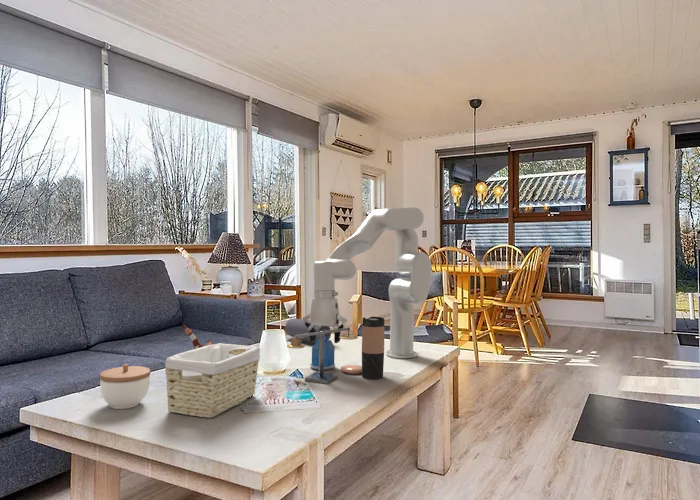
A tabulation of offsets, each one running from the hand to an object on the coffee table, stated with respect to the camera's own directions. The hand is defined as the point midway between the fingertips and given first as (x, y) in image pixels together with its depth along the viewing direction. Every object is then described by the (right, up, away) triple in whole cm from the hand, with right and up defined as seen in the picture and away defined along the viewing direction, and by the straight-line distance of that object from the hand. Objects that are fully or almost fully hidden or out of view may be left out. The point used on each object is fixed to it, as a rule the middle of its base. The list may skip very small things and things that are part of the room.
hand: (324, 341), depth 178 cm
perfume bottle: (-1, -9, 0) cm, 9 cm away
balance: (-1, -10, -16) cm, 18 cm away
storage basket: (-29, -10, -42) cm, 52 cm away
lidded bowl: (-53, -9, -44) cm, 69 cm away
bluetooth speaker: (-10, -9, +46) cm, 48 cm away
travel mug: (+17, -10, -11) cm, 23 cm away
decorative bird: (-41, -9, -15) cm, 44 cm away
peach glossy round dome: (+10, -10, -5) cm, 15 cm away
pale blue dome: (-1, -10, 0) cm, 9 cm away
